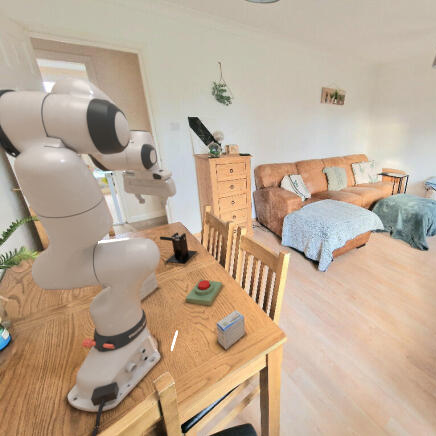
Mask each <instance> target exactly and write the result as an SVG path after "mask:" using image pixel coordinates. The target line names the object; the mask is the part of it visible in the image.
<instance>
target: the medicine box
mask: <svg viewBox="0 0 436 436" xmlns="http://www.w3.org/2000/svg"><path fill="white" fill-rule="evenodd" d="M245 329H246V327H245V316H244V315H243V314H242V313H241V312H239V311H238V310H237V309H235V310H233V311H232V312H231V313H229V314H228V315H226V316H225V317H223V318H221V320H219V321H217V322H216V332H217V342H218V343H219V344H220V345H221V346H222V347H223V349H225V350H228V349H229V348H230V347H231V346H233V344H235V343H236V342H237V341H239V340H240V339H241V338H242V337H244V336H245V335H246V330H245Z"/></svg>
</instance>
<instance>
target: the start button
mask: <svg viewBox="0 0 436 436" xmlns="http://www.w3.org/2000/svg"><path fill="white" fill-rule="evenodd" d="M202 280H203V281H201V282H199V281H198V282H199V283H198V282H197V283H198V287H199V289H200V290H206V289H208V288H209V287H210V283H209V281H210V280H208V281H207V279H202Z"/></svg>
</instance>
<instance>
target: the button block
mask: <svg viewBox="0 0 436 436" xmlns="http://www.w3.org/2000/svg"><path fill="white" fill-rule="evenodd" d="M203 280H204V279H199V280H198V282H196V284H195V285H194V286H193V288H192V289H191V290H190V292H189V293H188V294H187V295H186V297H185V301H186V303H189V304H194V305H195V304H197V305H203V306H211V304H212V303H213V302H214V300H215V298H216V297H217V296H218V294H219V292H220V291H221V289H222V287H223V282H222V281H214V280H207V279H206V280H207V281H209V283H210V287H209V288H208V289H206V290H200V289H199V287H198V283H199V282H201V281H203Z"/></svg>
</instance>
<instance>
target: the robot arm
mask: <svg viewBox="0 0 436 436" xmlns="http://www.w3.org/2000/svg"><path fill="white" fill-rule="evenodd" d="M155 145H156V144H155V142H154V138H153V135H152V134H151V132H150V131H148V130H144V129H143V130H141V129H130V126H129V123H128V119H127V117H126V115H125V113H124V112H123V110H121V109H120V108H119V106H118V105H117V104H116V103H115V102H114V101H113V100H112V98H111V97H109V96H108V94H106V93H105V92H104V91H102V90H101V89H100V88H99V87H98V86H96V85H95V84H94V83H93V82H91V81H88V80H87V79H84V78H81V77H76V76H75V77H74V76H69V77H64V78H60V79H59V80H58V81H56V82H55V83H54V84H53V85H52V87H51V90H50V91H38V90H37V91H33V90H19V91H17V90H14V89H7V88H6V89H0V149H1V150H2V151H3V152H4V153H5V154H7V155H9V156H10V157H12V158H15V159H14V161H13V170H14V173H15V176H16V179H17V182H18V185H19V187H20V190H21V191H22V194H23V196H24V198H25V200H26V202H27V204H28V205H29V207H30V209H31V210H32V211H33V213H34V215H35V216H36V218H37V219H38V221H39V222H40V224H41V226H42V227H43V229H44V231H45V233H46V234H47V236H48V239H49V243H48V246H47V248H45V249H44V250H43V251H41V252H40V253H39V254H38V255H36V257H35V259H34V260H33V263H32V265H31V270H30V272H31V273H30V274H31V278H32V280H33V282H34V283H35V284H36V285H37V287H39V288H41V289H42V290H44V291H72V290H73V291H75V290H79V289H85V288H90V287H96V286H101V285H105V284H107V285H109V287H107V288H105V289H104V290H102V289H101V290H100V291H99V292H98V293H97V294H96V295H94V297H93V298H92V300H91V301H90V304H89V308H88V312H89V315H90V317H91V320H92V324H93V326H94V331H93V338H92V339H91V338H88V337H87V338H85V339H84V340H83V341H82V343H81V346H82V348H88V349H90V350H89V351H88V353H87V355H86V357H85V359H84V360H83V361H82V363H81V365H80V367H79V369H78V371H77V372H76V376H75V384H74V385H73V387H72V388H71V390H70V391H69V392H68V394H67V401H68V403H69V404H70V406H72V407H73V408H75V409H77V410H81V411H84V412H89V413H90V412H91V413H92V412H93V413H95V412H96V413H97V414H96V417H95V423H94V428H93V431H92V434H91V436H96V435H97V434H98V430H99V428H100V422H101V417H102V412H105V411H109V410H112V409H114V408H116V407H117V406H118V405H119V404H120V403H121V402H122V401H123V400H124V399H125V398H126V397H127V396H128V394H129V393H130V392H131V391H132V390H133V389H134V388H135V387H136V386H137V385H138V384H139V382H141V381H142V379H143V378H144V377H145V376H147V374H148V373H149V372H150V371H151V370H152V369H153V368H154V366H156V364H157V363H158V362H159V361H160V360H161V354H160V352H159V350H158V349H159V348H158V347H159V344H158V341H157V339H156V338H155V337H154V336H153V334H152V333H151V331H150V329H149V326H148V320H147V316H146V311H145V310H144V308H143V307H142V302H141V300H140V288H141V285H142V283H143V282H144V280H145V279H146V278H147V277H148V276H149V275H151V274H152V273H153V272H154V271H155V272H156V270H157V268H158V267H159V265H160V262H161V250H160V248H159V246H158V244H157V243H156V242H155V241H153V239H151V238H145V237H124V238H115V239H114V238H113V239H107V240H104V238H105V237H106V236H107V235H108V234H109V233H110V231H111V230H112V228H113V225H114V218H113V215H112V212H111V210H110V208H109V205H108V202H107V201H106V198H105V195H104V193H103V191H102V188H101V186H100V184H99V183H98V180H97V179H96V177H95V175H94V173H93V172H92V170H91V169H90V168H89V166H88V165H87V163H86V162H85V160H84V159H83V157H82V155H87V156H88V157H89V159H90V160H91V162H92V164H93V165H94V166H95V167H96V168H97V169H98V170H100V171H102V172H115V171H118V172H119V171H123V172H122V179H123V181H122V182H123V183H122V184H123V189H124V192H125V193H126V194H131V195H134V197H135V198H136V199H137V200H138V203H139V204H141V205H142V204H143V205H144V204H146V199H145V198H143V197H142V196H143V195H144V196H156V197H162V199H163V200H161V201H160V204H161V206H164V207H165V206H167V205H168V201H167V200H168V199H169V198H172V197H174V196H175V195H176V194H177V187H176V183H175V180H174V178H173V172H172V171H170V170H168V169H166V168H163V167H161V166H159V163H158V155H157V151H156V146H155ZM141 195H142V196H141ZM177 336H178V330H176V331H175V334H174V338H173V341H172V344H171V349H170V351H171V352H172V351H173V350H174V346H175V343H176V339H177ZM97 426H98V427H97ZM95 427H96V428H95Z"/></svg>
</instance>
